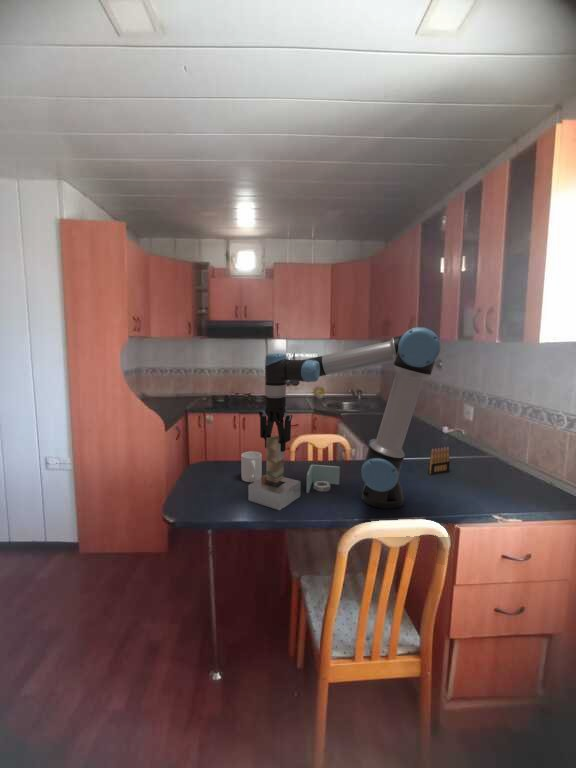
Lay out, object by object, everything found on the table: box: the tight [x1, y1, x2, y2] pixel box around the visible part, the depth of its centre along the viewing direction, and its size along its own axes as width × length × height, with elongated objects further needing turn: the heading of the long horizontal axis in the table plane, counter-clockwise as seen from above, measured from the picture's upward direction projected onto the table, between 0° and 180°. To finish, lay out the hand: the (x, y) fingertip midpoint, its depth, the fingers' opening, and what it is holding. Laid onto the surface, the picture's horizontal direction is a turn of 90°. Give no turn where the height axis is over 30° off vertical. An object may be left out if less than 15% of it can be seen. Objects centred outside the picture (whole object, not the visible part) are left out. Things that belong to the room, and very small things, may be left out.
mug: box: [240, 451, 263, 483], centre depth 154 cm, size 9×12×11 cm
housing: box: [247, 473, 301, 511], centre depth 137 cm, size 14×14×8 cm
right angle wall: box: [305, 464, 341, 494], centre depth 147 cm, size 12×12×8 cm
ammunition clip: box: [427, 446, 451, 476], centre depth 165 cm, size 11×2×12 cm, turn 112°
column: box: [265, 435, 285, 483], centre depth 136 cm, size 5×5×16 cm
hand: (275, 458), depth 136 cm, fingers closed on column, 4 cm apart
